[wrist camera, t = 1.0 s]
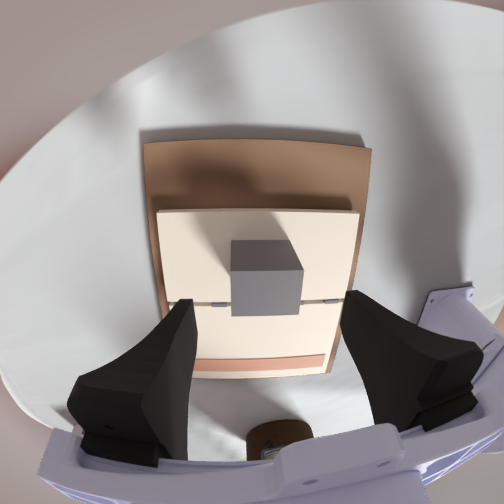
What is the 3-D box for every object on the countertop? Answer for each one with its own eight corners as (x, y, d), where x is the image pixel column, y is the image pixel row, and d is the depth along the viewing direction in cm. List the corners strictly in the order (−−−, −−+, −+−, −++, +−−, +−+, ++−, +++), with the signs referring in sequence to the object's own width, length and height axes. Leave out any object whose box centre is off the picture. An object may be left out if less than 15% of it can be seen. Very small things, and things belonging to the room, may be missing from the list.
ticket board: (328, 366, 28) (330, 372, 27) (177, 370, 27) (176, 377, 26) (365, 147, 19) (371, 148, 18) (147, 142, 18) (143, 143, 17)
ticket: (323, 367, 26) (325, 373, 26) (184, 371, 26) (183, 378, 25) (340, 294, 23) (343, 299, 22) (170, 297, 22) (168, 303, 21)
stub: (342, 293, 22) (365, 333, 18) (169, 295, 22) (154, 339, 17) (355, 210, 20) (389, 236, 15) (159, 209, 19) (135, 237, 14)
